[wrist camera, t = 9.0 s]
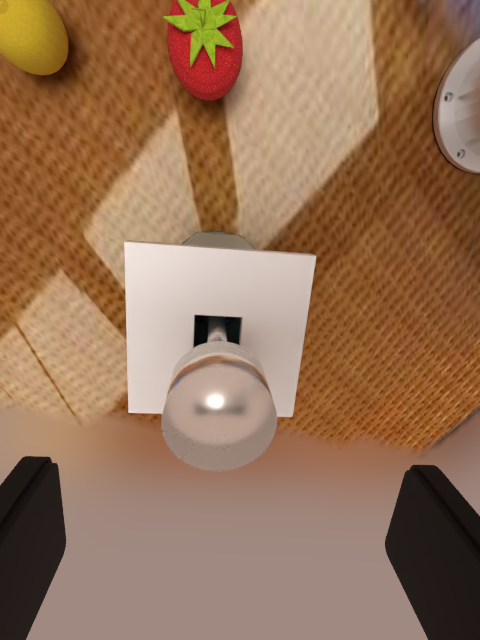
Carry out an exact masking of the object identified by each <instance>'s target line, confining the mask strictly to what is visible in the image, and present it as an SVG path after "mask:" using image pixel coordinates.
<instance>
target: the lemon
mask: <svg viewBox="0 0 480 640" xmlns="http://www.w3.org/2000/svg"><path fill="white" fill-rule="evenodd" d="M0 53H1V54H2V56H3V57H4V58H6V59H7V60H8V61H9V62H11V63H12V64H13V65H15V66H16V67H18V68H19V69H21V70H24V71H26V72H28V73H31V74H36V75H50V74H53V73H55V72H57V71H58V70H59V69H60V68H61V67H62V66H63V65H64V63H65V61H66V59H67V55H68V37H67V32H66V29H65V27H64V24H63V22H62V20H61V17H60V16H59V14H58V13H57V11H56V10H55V8H54V7H53V5H52V4H51V2H50V1H49V0H0Z"/></svg>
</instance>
